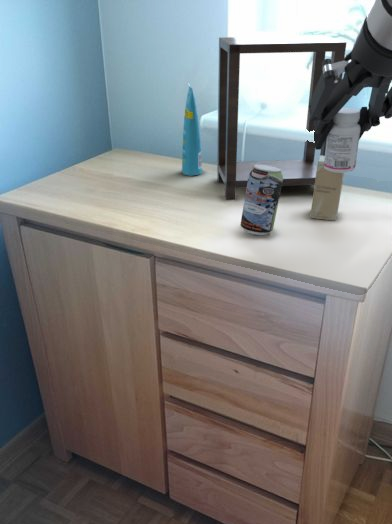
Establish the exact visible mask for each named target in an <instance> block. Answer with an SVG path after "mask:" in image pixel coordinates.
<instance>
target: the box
mask: <svg viewBox="0 0 392 524" xmlns="http://www.w3.org/2000/svg"><path fill="white" fill-rule="evenodd" d="M324 160H325V156H320V155H319V157H318V160H317V163H316V164H317V171H316V178H315V185H313V186H314V187H313V193H312V201H311V209H310V215H309V218H311V219H318V220H325V221H336V220H337V217H338V212H339V209H340V208H339V207H340V201H341V195H342V188H343V182H344V176H345V172H344V173H337V172H331V171H328V170H326V169H325V168H324Z"/></svg>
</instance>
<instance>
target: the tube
mask: <svg viewBox="0 0 392 524" xmlns="http://www.w3.org/2000/svg"><path fill="white" fill-rule="evenodd" d="M187 85H188V90H187V94H186V101H185V109H184V117H183V132H182V153H181V154H182V155H181V156H182V158H181V173H182V175H185V176H191V177H192V176H198V175H201V174H202V173H203V159H202V158H203V157H202V156H203V155H202V143H201V131H200V122H199V115H198V108H197V102H196V97H195V93H194V89H193V88H192V87H191V85H190V83H187Z"/></svg>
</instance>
